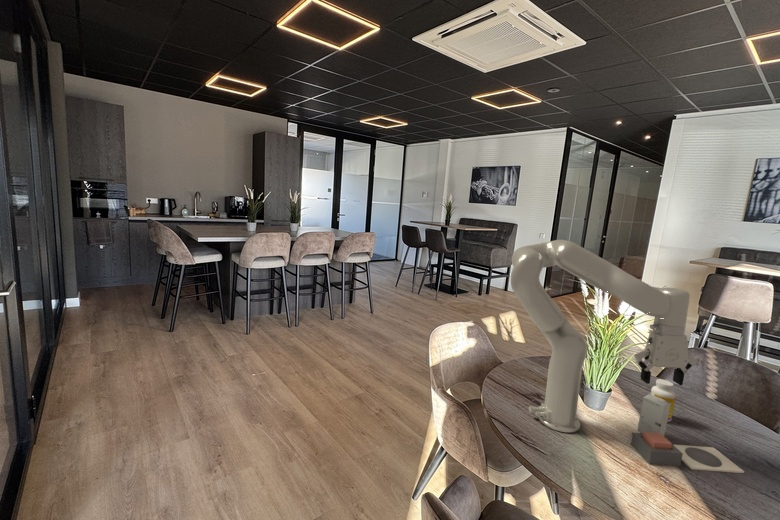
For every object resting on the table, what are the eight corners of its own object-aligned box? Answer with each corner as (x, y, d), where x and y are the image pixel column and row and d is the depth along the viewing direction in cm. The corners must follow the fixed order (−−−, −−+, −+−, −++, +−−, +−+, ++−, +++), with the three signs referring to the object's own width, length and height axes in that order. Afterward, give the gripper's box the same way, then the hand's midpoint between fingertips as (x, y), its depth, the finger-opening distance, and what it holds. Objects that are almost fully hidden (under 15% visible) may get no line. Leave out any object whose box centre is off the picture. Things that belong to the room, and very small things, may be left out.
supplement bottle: (675, 424, 120) (681, 388, 118) (653, 421, 121) (659, 385, 119) (664, 413, 126) (670, 379, 125) (643, 410, 128) (649, 376, 126)
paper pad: (691, 469, 98) (691, 467, 98) (665, 445, 108) (665, 443, 108) (744, 473, 98) (744, 471, 98) (713, 448, 108) (713, 447, 108)
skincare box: (636, 431, 115) (641, 396, 113) (643, 427, 117) (648, 393, 115) (658, 442, 110) (664, 405, 108) (665, 438, 112) (671, 402, 110)
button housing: (649, 464, 100) (651, 451, 99) (630, 444, 108) (632, 432, 107) (680, 466, 99) (682, 453, 99) (659, 446, 108) (661, 434, 107)
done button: (652, 452, 101) (654, 442, 101) (641, 441, 106) (643, 431, 105) (670, 453, 101) (672, 443, 100) (658, 442, 106) (660, 433, 105)
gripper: (647, 332, 105) (640, 387, 107) (708, 334, 104) (700, 389, 107) (631, 323, 112) (625, 375, 115) (688, 326, 112) (681, 378, 114)
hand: (661, 382), depth 111 cm, fingers open, 9 cm apart
